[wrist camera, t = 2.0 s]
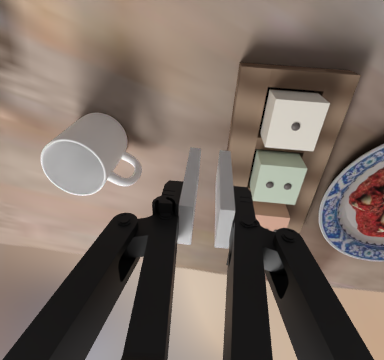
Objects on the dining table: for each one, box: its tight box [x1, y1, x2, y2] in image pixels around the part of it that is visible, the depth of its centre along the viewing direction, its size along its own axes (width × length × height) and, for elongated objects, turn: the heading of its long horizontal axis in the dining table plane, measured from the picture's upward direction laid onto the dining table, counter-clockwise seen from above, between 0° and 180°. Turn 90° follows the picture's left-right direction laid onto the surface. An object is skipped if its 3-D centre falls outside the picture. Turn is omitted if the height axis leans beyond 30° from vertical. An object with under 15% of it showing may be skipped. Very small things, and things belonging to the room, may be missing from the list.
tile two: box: [250, 149, 307, 205], centre depth 37 cm, size 6×6×4 cm
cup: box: [41, 113, 142, 196], centre depth 37 cm, size 8×12×10 cm
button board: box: [227, 62, 361, 233], centre depth 40 cm, size 28×14×3 cm, turn 177°
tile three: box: [253, 201, 290, 232], centre depth 42 cm, size 6×6×4 cm
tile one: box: [260, 89, 330, 151], centre depth 33 cm, size 6×6×4 cm
